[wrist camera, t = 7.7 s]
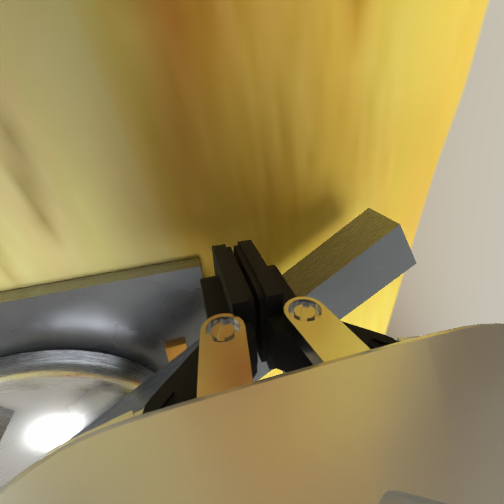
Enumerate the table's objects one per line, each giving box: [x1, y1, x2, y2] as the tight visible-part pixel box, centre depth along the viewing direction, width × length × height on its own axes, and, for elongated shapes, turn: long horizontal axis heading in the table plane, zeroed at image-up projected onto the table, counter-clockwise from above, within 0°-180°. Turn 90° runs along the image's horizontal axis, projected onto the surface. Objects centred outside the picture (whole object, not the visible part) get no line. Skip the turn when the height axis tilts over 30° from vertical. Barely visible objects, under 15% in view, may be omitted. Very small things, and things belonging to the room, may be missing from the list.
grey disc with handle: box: [0, 208, 416, 489], centre depth 15 cm, size 29×14×4 cm, turn 126°
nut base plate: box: [0, 257, 207, 373], centre depth 18 cm, size 20×20×1 cm
